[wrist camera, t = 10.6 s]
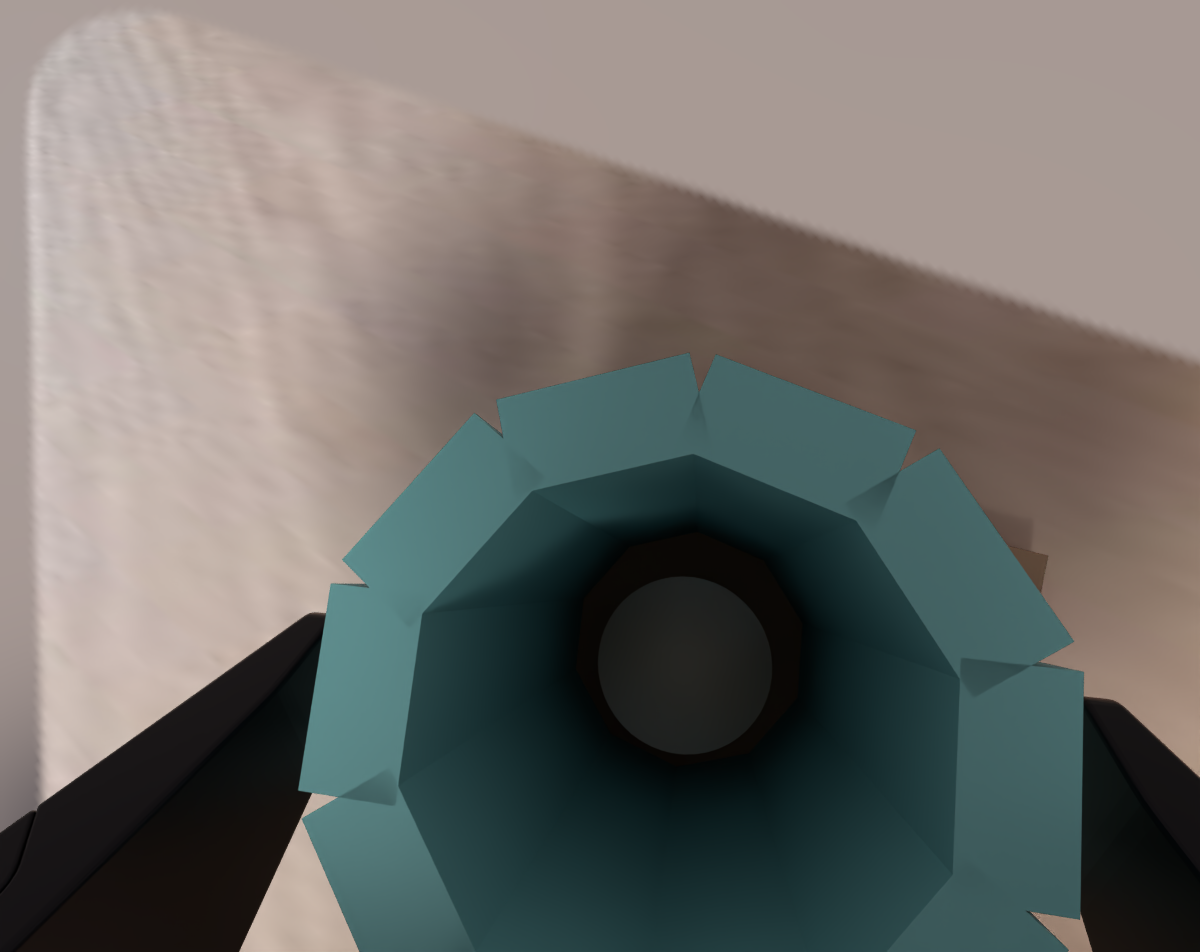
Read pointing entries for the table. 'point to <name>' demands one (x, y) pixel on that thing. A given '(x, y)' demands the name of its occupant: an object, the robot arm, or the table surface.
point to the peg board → (747, 588)
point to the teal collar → (712, 788)
